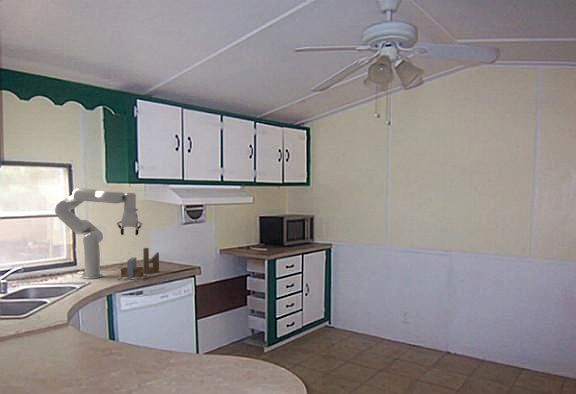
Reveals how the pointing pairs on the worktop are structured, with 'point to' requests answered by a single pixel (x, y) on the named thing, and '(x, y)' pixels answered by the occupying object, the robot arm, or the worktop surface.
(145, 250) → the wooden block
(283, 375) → the worktop surface
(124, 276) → the slotted base
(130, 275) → the slotted plate
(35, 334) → the worktop surface
